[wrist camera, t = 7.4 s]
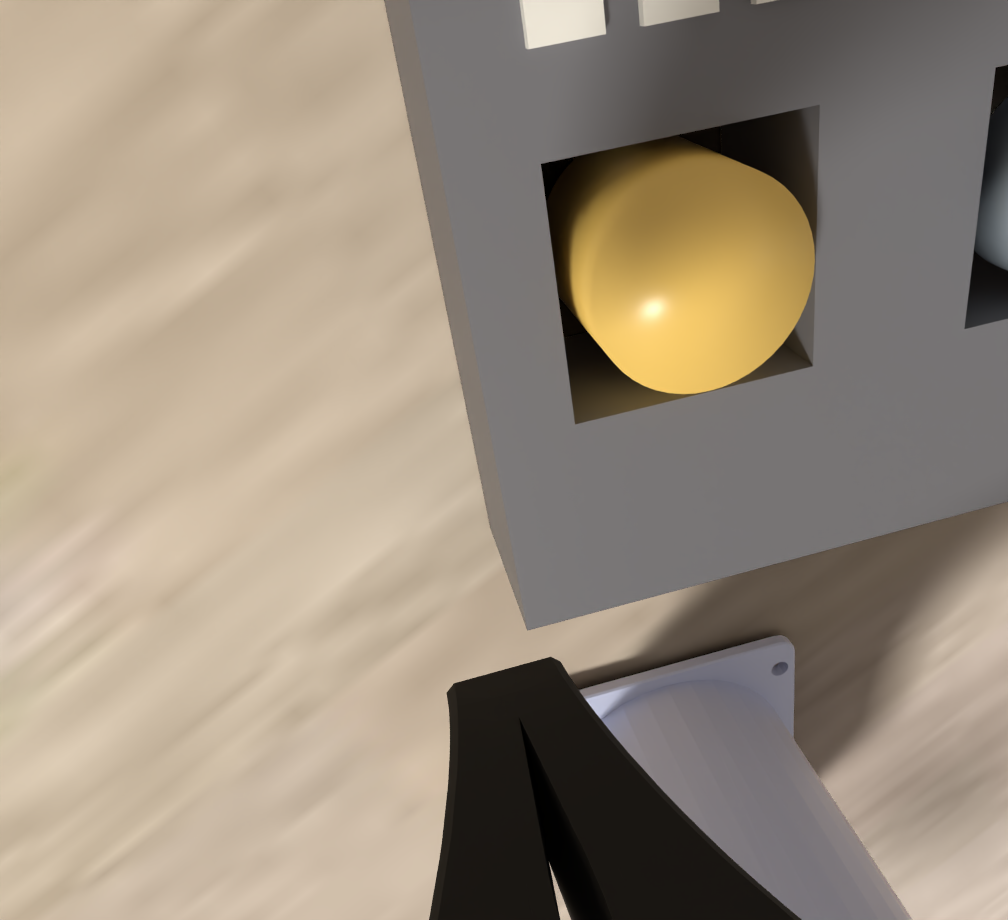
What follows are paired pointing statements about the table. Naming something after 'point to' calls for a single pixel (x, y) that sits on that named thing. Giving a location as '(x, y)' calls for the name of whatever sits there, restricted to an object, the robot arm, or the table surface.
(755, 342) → the button three
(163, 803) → the table surface
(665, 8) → the button panel
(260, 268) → the table surface
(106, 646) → the table surface
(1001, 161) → the button two
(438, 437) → the table surface
